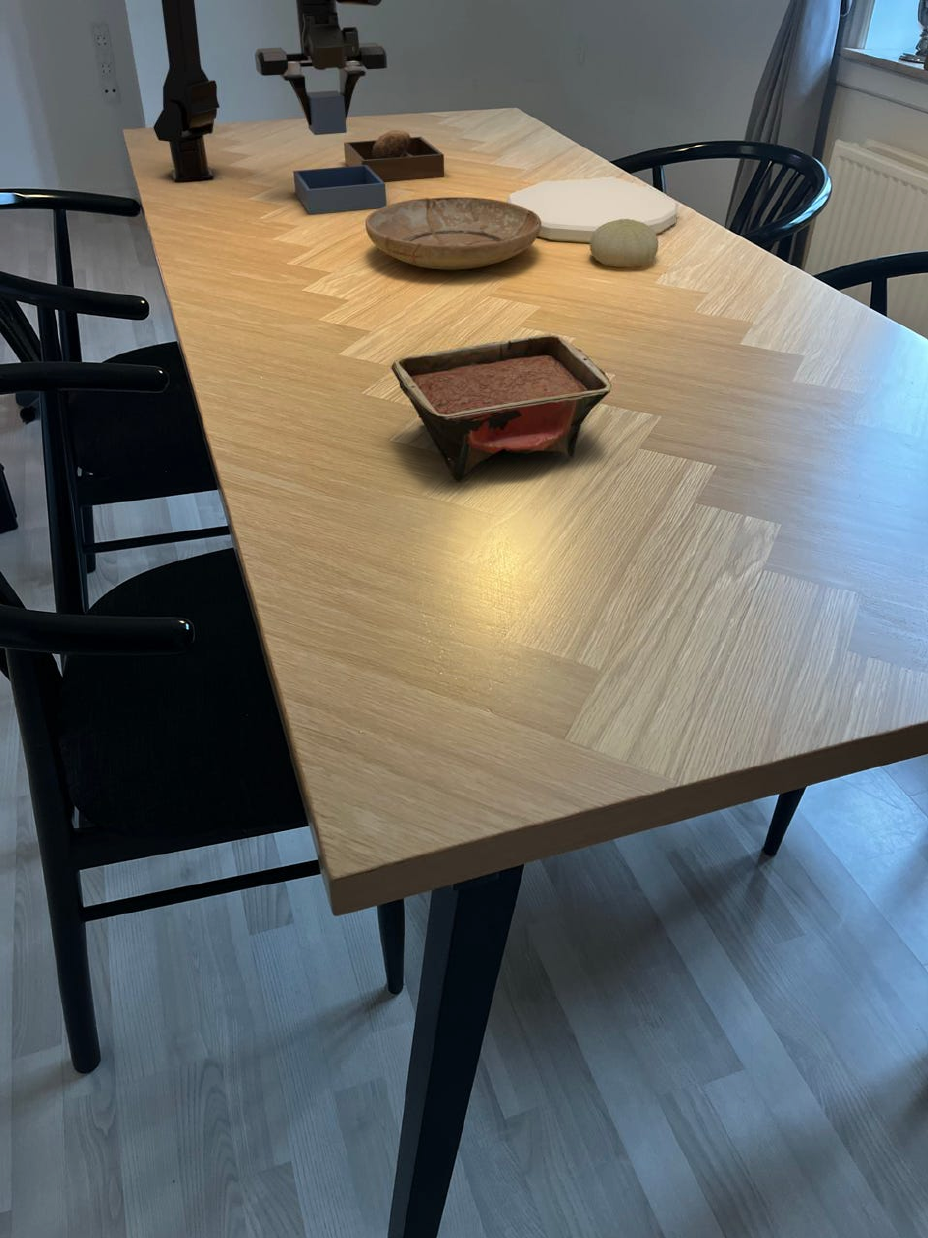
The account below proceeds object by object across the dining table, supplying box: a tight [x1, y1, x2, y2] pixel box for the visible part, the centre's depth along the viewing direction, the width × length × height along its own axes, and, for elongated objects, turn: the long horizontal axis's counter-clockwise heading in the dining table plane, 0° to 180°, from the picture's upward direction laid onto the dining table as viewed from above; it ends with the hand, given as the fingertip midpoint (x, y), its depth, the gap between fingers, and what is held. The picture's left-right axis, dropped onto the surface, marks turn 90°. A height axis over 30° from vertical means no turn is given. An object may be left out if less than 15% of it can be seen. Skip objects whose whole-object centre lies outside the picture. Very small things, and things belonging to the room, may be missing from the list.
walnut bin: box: [343, 136, 445, 183], centre depth 165 cm, size 14×14×4 cm
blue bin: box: [292, 165, 387, 215], centre depth 150 cm, size 12×12×4 cm
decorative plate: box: [506, 175, 679, 244], centre depth 141 cm, size 25×4×25 cm
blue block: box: [306, 89, 348, 136], centre depth 144 cm, size 5×5×5 cm
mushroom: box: [372, 129, 412, 159], centre depth 164 cm, size 8×8×6 cm
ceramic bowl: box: [364, 196, 541, 271], centre depth 127 cm, size 23×24×5 cm
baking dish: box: [390, 333, 612, 483], centre depth 85 cm, size 14×18×10 cm
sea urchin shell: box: [589, 219, 659, 268], centre depth 126 cm, size 9×8×8 cm
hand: (326, 123), depth 145 cm, fingers closed on blue block, 5 cm apart
